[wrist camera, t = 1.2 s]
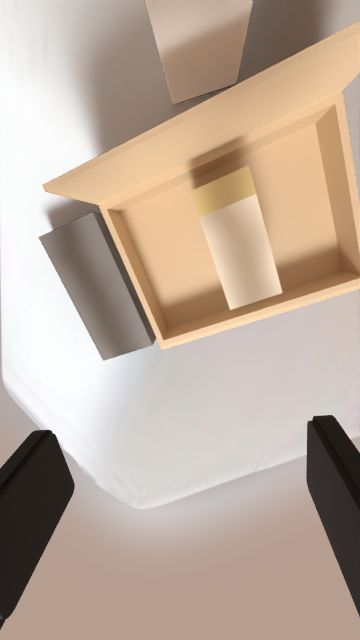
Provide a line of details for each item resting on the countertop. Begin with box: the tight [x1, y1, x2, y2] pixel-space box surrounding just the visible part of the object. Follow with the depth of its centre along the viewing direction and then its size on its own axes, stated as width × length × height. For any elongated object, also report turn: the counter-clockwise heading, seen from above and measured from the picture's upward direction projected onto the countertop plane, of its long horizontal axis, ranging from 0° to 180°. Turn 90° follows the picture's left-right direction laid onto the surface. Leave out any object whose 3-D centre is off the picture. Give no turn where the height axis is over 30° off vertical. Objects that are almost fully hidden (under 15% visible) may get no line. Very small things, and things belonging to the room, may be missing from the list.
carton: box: [42, 21, 360, 350], centre depth 21 cm, size 21×16×12 cm
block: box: [191, 165, 282, 310], centre depth 23 cm, size 4×10×7 cm, turn 21°
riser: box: [39, 212, 156, 361], centre depth 28 cm, size 6×15×3 cm, turn 21°
